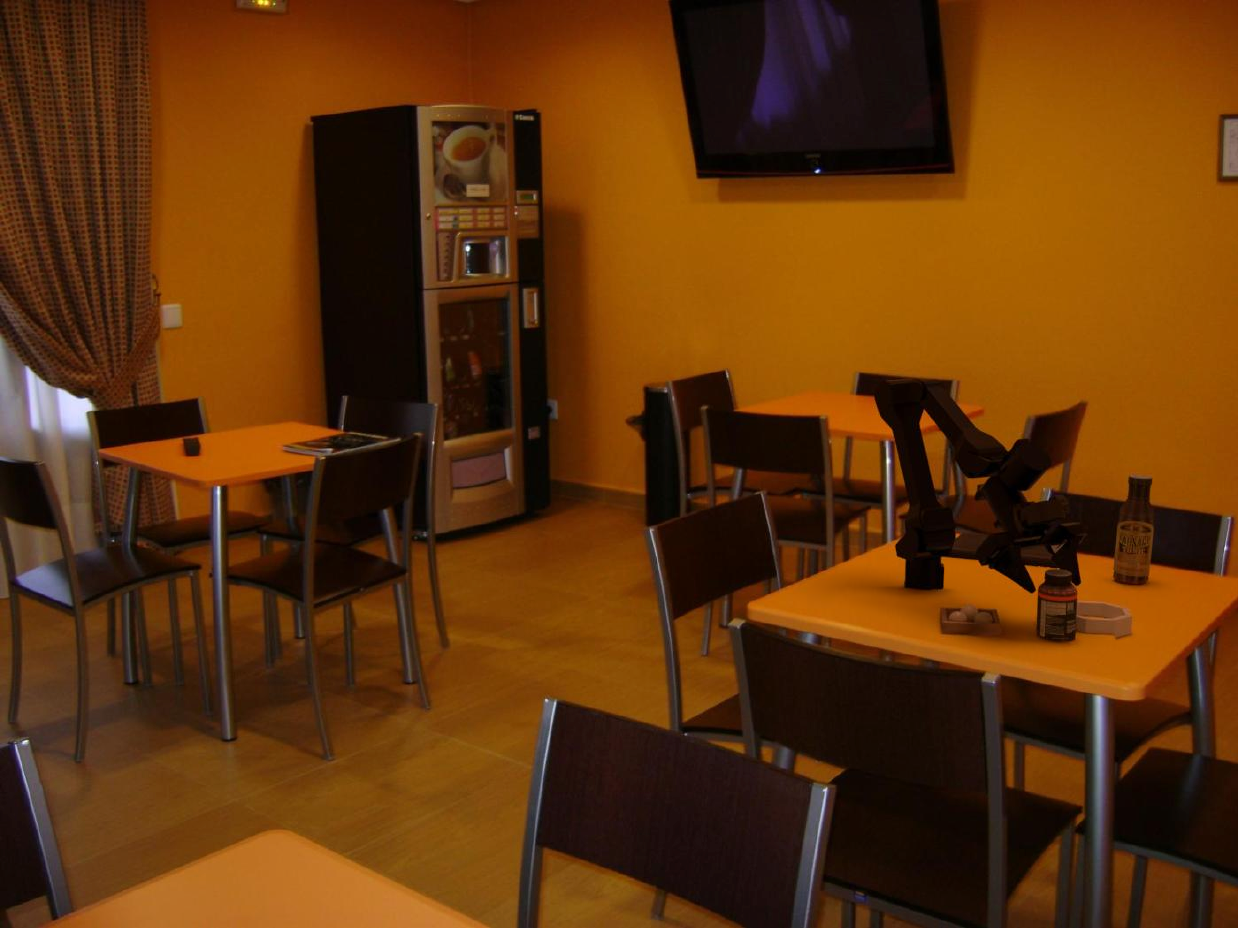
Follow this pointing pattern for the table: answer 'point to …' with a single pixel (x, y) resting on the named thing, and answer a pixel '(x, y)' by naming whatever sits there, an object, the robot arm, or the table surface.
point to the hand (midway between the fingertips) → (1056, 588)
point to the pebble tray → (970, 624)
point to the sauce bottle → (1135, 533)
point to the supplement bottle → (1057, 607)
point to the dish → (1112, 623)
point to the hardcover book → (970, 542)
